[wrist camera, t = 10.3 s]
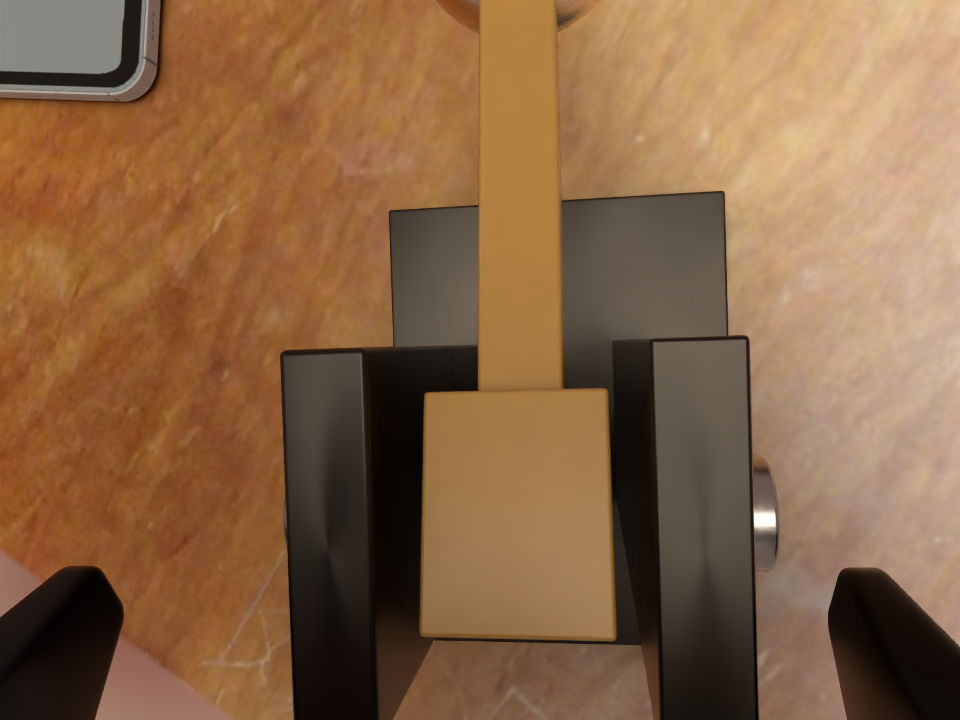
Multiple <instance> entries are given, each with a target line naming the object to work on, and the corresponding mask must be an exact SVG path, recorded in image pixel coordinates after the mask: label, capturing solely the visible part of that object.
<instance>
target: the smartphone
mask: <svg viewBox="0 0 960 720" xmlns="http://www.w3.org/2000/svg"><path fill="white" fill-rule="evenodd" d="M160 1H161V0H0V98H30V99H60V100H89V101H119V102H124V101H131V100H134V99H136V98H139V97H140V96H142V95H143V94H144V93H145V92H146V91H147V90H148V89H149V88H150V86H151V85H152V83H153V81H154V79H155V76H156V72H157V59H158V40H159V21H160Z"/></svg>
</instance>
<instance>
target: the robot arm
mask: <svg viewBox="0 0 960 720" xmlns="http://www.w3.org/2000/svg"><path fill="white" fill-rule="evenodd" d="M123 619H124V609H123V605H122V602H121V601H120V599H119V597H118V596H117V594H116V592H115V591H114V589H113V588H112V586H111V584H110V583H109V581H108V579H107V578H106V576H105V574H104V573H103V572H102V570H101V569H99V568H98V567H95V566H69V567H65V568H63V569H61V570H59V571H58V572H56V573H55V574H54V575H53V576H51V577H50V578H49V579H48V580H46V581H45V582H44V583H43V584H41V585H40V586H39V587H38V588H36V589H35V590H34V591H33V592H31V593H30V594H29V595H28V596H26V597H25V598H24V599H23V600H21V601H20V602H19V603H18V604H16V605H15V606H14V607H13V608H11V609H10V610H9V611H8V612H6V613H5V614H4V615H3V616H1V617H0V720H95V717H96V714H97V710H98V707H99V704H100V700H101V696H102V693H103V690H104V686H105V683H106V680H107V676H108V673H109V669H110V666H111V662H112V659H113V656H114V652H115V649H116V645H117V642H118V639H119V635H120V632H121V628H122V625H123ZM828 627H829V634H830V638H831V643H832V648H833V653H834V658H835V663H836V668H837V672H838V677H839V682H840V687H841V692H842V697H843V701H844V706H845V711H846V716H847V720H960V646H959V645H958V644H957V643H956V642H955V641H954V640H953V639H952V638H951V637H950V636H949V635H948V634H947V633H946V632H945V631H944V630H943V629H942V628H941V627H940V626H939V625H938V624H937V623H936V622H935V621H934V620H933V619H932V618H931V617H930V616H929V615H928V614H927V613H926V612H925V611H924V610H923V609H922V608H921V607H920V606H919V605H918V604H917V603H916V602H915V601H914V600H913V599H912V598H911V597H910V596H909V595H908V594H907V593H906V592H905V591H904V590H903V589H902V588H901V587H900V586H899V585H898V584H897V583H896V582H895V581H894V580H893V579H892V578H891V577H890V576H889V575H888V574H887V573H885V572H884V571H882V570H880V569H878V568H844V569H843V570H842V571H841V572H840V574H839V576H838V579H837V582H836V586H835V589H834V593H833V597H832V600H831V604H830V607H829V611H828Z"/></svg>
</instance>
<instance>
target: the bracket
mask: <svg viewBox="0 0 960 720" xmlns="http://www.w3.org/2000/svg"><path fill="white" fill-rule="evenodd" d="M561 202H562V248H563V294H564V339H565V385H566V389H582V388H605V389H607V390H608V392H609V417H610V446H611V475H612V504H613V532H614V561H615V590H616V619H617V638H616V640H614V641H576V640H534V639H491V638H448V637H423V636H421V635H420V633H419V614H420V565H421V517H422V468H423V419H424V395H425V393H428V392H454V391H478V214H479V205H474V206H457V207H440V208H423V209H406V210H391V211H389V230H390V259H391V288H392V317H393V346H394V347H366V348H334V349H303V350H285V351H283V352H282V353H281V356H280V364H281V391H282V418H283V444H284V471H285V504H284V535H285V542H286V546H287V551H288V578H289V605H290V632H291V659H292V685H293V712H294V720H393V718H394V716H395V714H396V712H397V710H398V708H399V707H400V705H401V703H402V701H403V699H404V697H405V695H406V693H407V691H408V689H409V687H410V685H411V683H412V682H413V680H414V678H415V676H416V674H417V672H418V670H419V668H420V666H421V664H422V662H423V660H424V658H425V657H426V655H427V653H428V651H429V649H430V647H431V645H432V643H433V641H434V640H444V641H486V642H527V643H569V644H611V645H641V646H642V652H643V658H644V664H645V670H646V676H647V681H648V687H649V693H650V699H651V705H652V710H653V716H654V720H759V691H758V651H757V611H756V572H755V571H761V572H767V571H770V570H772V569H773V568H774V566H775V563H776V560H777V556H778V549H779V534H780V529H779V509H778V500H777V493H776V488H775V483H774V479H773V475H772V472H771V469H770V467H769V465H768V463H767V461H766V459H765V458H763V457H761V456H753V453H752V414H751V374H750V340H749V338H748V336H745V335H734V336H728V303H727V264H726V226H725V193H724V191H712V192H695V193H678V194H661V195H644V196H627V197H610V198H593V199H576V200H561Z"/></svg>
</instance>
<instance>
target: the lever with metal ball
mask: <svg viewBox="0 0 960 720" xmlns="http://www.w3.org/2000/svg"><path fill="white" fill-rule="evenodd" d="M598 1H599V0H437V2H438V3H439V4H440V6H441V7H442V8H443V9H444V10H445V11H446V12H447V13H448V14H449V15H450V16H452V17H453V18H454V19H455V20H456V21H457V22H459V23H460V24H462V25H463V26H465V27H466V28H468V29H470V30H472V31H474V32H476V33H478V34H479V214H478V391H454V392H428V393H425V395H424V419H423V468H422V517H421V565H420V614H419V633H420V635H421V636H423V637H448V638H491V639H534V640H576V641H614V640H616V638H617V619H616V590H615V561H614V532H613V504H612V475H611V446H610V417H609V392H608V390H607V389H605V388H582V389H566V385H565V339H564V294H563V248H562V202H561V157H560V111H559V66H558V33H559V32H560V31H562V30H564V29H566V28H568V27H570V26H571V25H573V24H574V23H576V22H577V21H579V20H580V19H581V18H582V17H584V16H585V15H586V14H587V13H588V12H589V11H590V10H591V9H592V8H593V7H594V6H595V4H596V3H597V2H598Z"/></svg>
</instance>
